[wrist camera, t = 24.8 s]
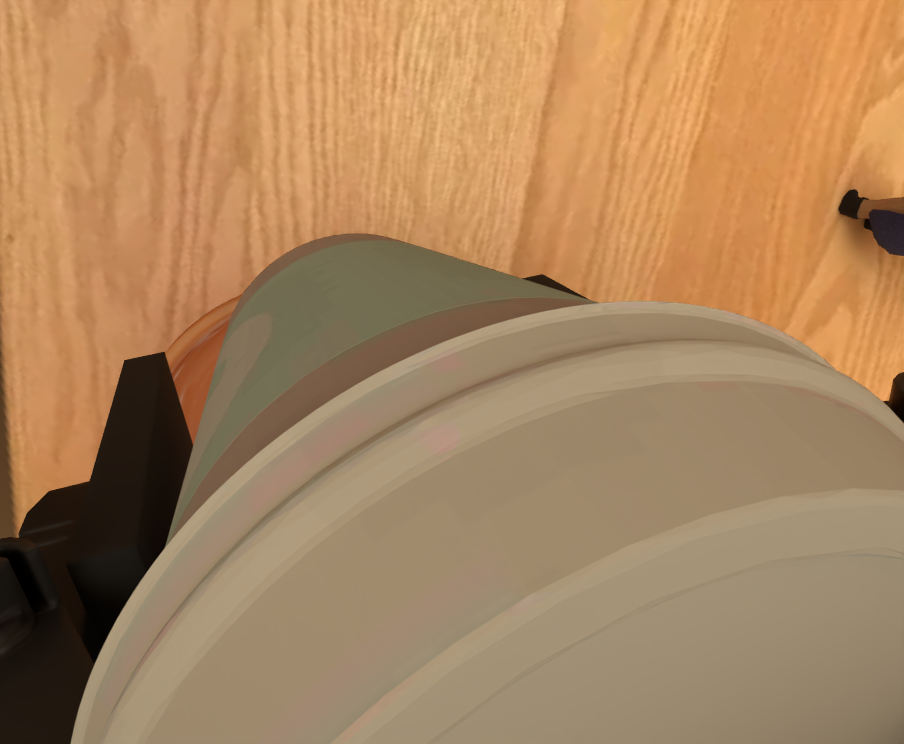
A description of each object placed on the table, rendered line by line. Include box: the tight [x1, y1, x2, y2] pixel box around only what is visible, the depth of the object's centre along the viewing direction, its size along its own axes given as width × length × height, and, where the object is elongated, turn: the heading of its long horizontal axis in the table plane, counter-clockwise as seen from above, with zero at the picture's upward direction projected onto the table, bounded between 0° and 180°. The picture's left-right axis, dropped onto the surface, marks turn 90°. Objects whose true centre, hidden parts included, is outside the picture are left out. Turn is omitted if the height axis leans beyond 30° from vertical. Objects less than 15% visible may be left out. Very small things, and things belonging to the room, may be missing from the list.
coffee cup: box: [71, 234, 904, 744], centre depth 10 cm, size 8×8×12 cm
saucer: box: [165, 294, 243, 445], centre depth 32 cm, size 16×16×3 cm
